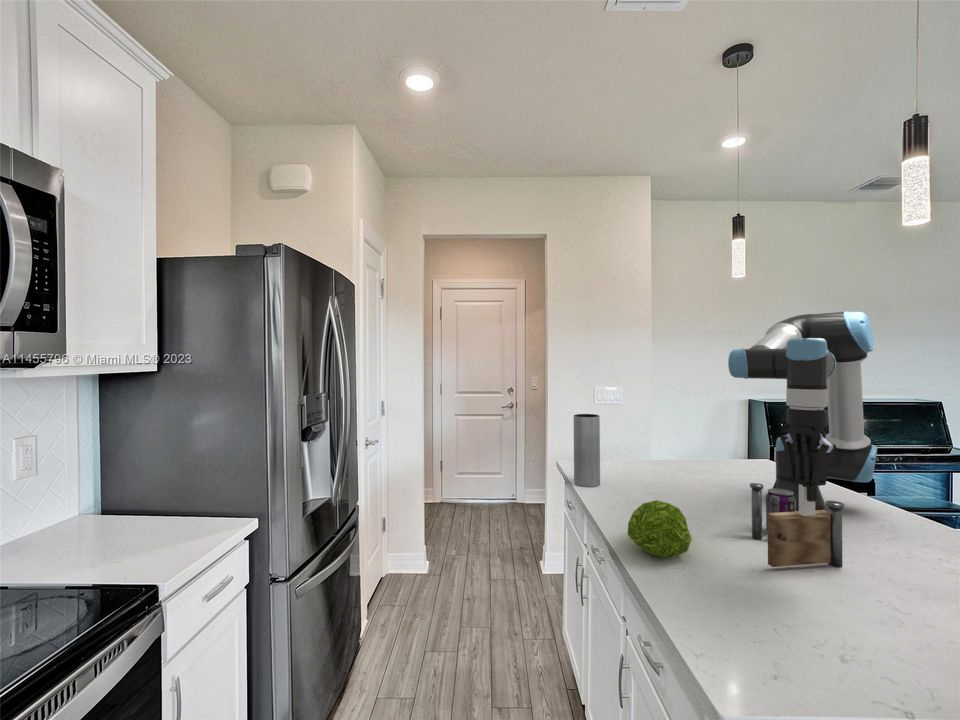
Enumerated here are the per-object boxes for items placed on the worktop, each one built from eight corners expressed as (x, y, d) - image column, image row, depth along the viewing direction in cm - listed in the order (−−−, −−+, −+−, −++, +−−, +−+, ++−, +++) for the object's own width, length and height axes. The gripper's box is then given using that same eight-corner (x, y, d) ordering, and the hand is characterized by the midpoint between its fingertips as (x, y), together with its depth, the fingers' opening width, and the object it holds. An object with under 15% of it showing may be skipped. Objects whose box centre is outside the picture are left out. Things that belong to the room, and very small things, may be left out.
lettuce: (696, 540, 134) (685, 489, 137) (694, 562, 112) (681, 501, 115) (641, 543, 140) (632, 494, 143) (629, 564, 118) (618, 507, 121)
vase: (602, 487, 185) (602, 416, 185) (576, 487, 185) (576, 417, 185) (596, 480, 195) (596, 413, 195) (572, 480, 195) (571, 413, 195)
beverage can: (800, 539, 131) (800, 495, 131) (771, 537, 132) (771, 494, 132) (789, 530, 138) (789, 488, 138) (762, 528, 139) (762, 487, 139)
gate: (824, 559, 116) (824, 509, 116) (834, 564, 113) (834, 513, 113) (767, 563, 114) (767, 513, 114) (776, 569, 111) (776, 517, 111)
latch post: (754, 535, 134) (754, 482, 134) (766, 539, 131) (765, 485, 131) (747, 537, 133) (747, 483, 133) (758, 541, 130) (758, 486, 130)
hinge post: (830, 560, 117) (830, 500, 117) (847, 566, 114) (847, 504, 114) (822, 563, 116) (822, 502, 116) (839, 569, 113) (839, 506, 112)
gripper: (847, 410, 101) (848, 523, 101) (798, 404, 114) (798, 505, 114) (815, 411, 100) (815, 525, 100) (769, 405, 113) (770, 506, 113)
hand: (806, 514), depth 107 cm, fingers closed
